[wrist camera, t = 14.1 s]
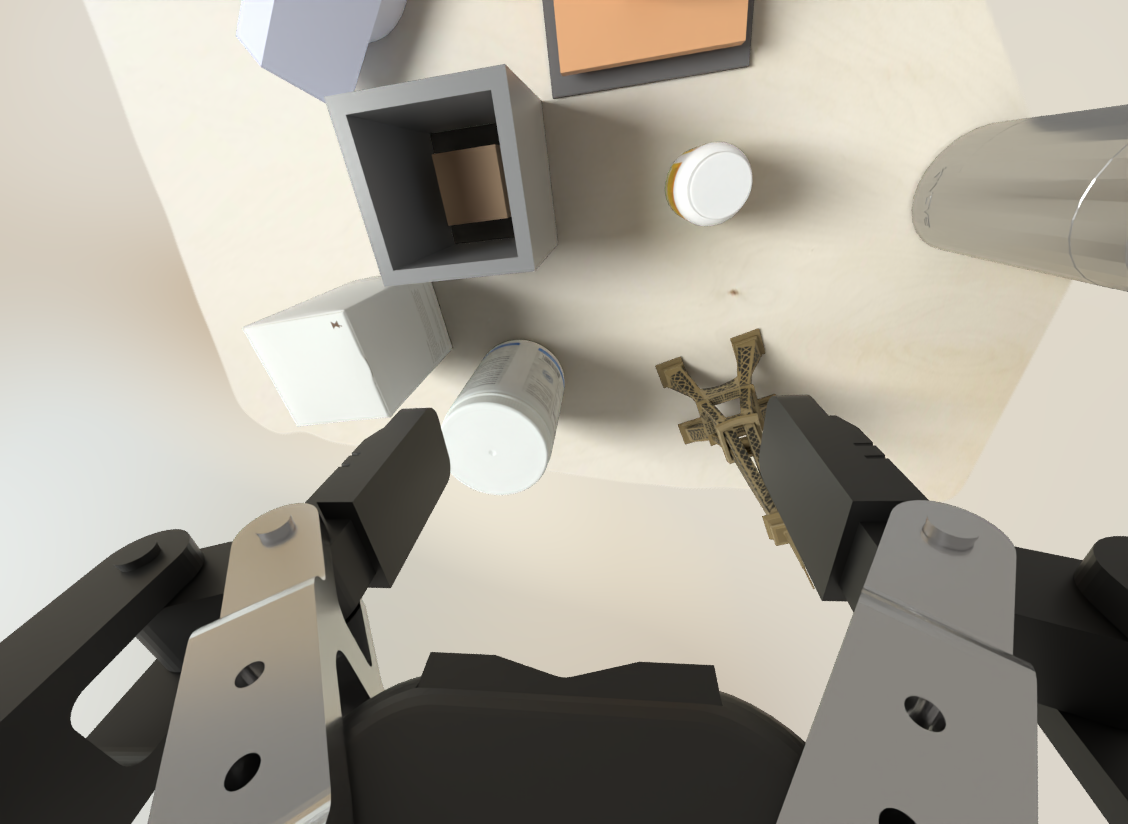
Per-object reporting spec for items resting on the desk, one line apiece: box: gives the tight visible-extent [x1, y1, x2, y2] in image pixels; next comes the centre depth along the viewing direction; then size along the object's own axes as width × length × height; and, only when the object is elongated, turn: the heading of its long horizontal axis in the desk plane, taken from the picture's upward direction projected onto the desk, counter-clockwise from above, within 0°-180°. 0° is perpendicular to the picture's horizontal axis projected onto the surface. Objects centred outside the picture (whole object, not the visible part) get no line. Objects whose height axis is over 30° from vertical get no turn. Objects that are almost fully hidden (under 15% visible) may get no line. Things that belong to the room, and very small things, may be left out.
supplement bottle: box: [665, 142, 752, 226], centre depth 32 cm, size 5×5×10 cm
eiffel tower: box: [655, 328, 814, 589], centre depth 34 cm, size 11×11×25 cm
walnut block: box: [431, 144, 511, 226], centre depth 35 cm, size 5×5×6 cm
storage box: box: [324, 64, 558, 287], centre depth 32 cm, size 11×11×13 cm
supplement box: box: [242, 276, 452, 427], centre depth 38 cm, size 9×9×15 cm
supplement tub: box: [441, 340, 565, 495], centre depth 40 cm, size 10×10×15 cm
